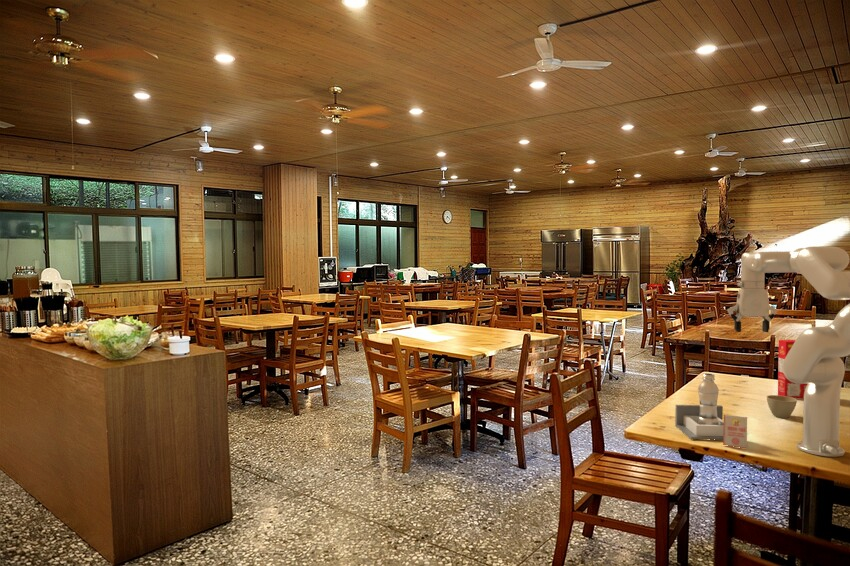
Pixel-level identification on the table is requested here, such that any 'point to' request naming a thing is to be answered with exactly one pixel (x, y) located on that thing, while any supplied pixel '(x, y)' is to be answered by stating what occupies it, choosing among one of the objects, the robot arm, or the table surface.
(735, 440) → the beige printed carton
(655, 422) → the table surface
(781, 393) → the food packaging
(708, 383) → the plastic bottle
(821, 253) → the robot arm
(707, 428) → the housing
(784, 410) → the flower pot
